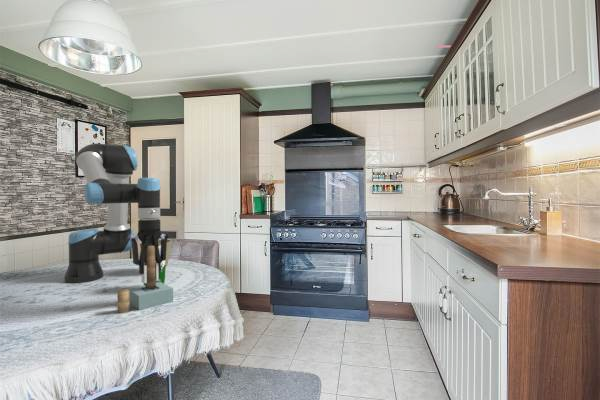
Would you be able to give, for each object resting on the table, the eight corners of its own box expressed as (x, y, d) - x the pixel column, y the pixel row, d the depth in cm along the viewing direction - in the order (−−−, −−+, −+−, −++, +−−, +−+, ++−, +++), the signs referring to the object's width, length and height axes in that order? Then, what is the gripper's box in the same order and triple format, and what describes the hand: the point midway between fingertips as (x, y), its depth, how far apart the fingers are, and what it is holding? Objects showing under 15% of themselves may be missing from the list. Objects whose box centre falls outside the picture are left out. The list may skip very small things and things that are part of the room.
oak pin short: (116, 311, 106) (115, 291, 106) (127, 308, 109) (127, 288, 109) (119, 314, 104) (119, 293, 104) (131, 311, 106) (130, 291, 106)
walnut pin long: (143, 287, 115) (143, 245, 115) (153, 285, 118) (152, 244, 118) (147, 290, 113) (146, 246, 112) (157, 287, 115) (156, 245, 115)
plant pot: (162, 267, 168) (161, 238, 167) (178, 271, 159) (177, 241, 159) (134, 273, 156) (133, 242, 155) (149, 278, 147) (149, 245, 146)
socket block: (127, 301, 115) (127, 288, 115) (160, 294, 124) (160, 281, 124) (139, 310, 107) (138, 295, 107) (173, 301, 116) (173, 288, 116)
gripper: (128, 221, 106) (129, 288, 107) (175, 218, 118) (176, 278, 119) (121, 219, 111) (122, 283, 112) (167, 217, 123) (168, 275, 124)
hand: (150, 281), depth 115 cm, fingers closed on walnut pin long, 3 cm apart
